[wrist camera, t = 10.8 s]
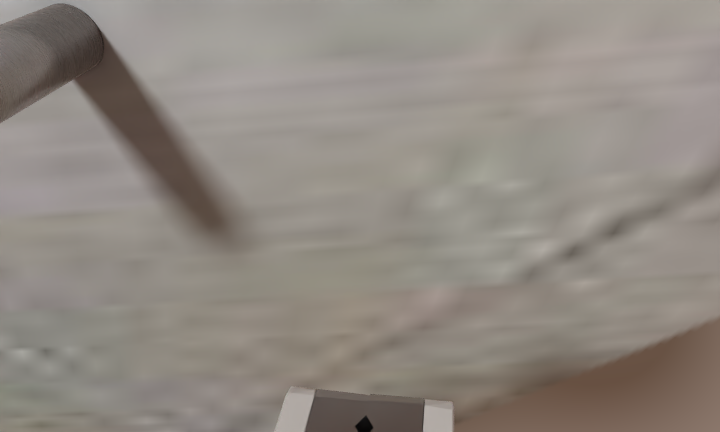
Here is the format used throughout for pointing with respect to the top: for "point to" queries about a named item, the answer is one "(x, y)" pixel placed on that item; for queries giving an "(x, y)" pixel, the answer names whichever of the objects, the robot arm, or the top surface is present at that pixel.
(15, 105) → the post
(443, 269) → the top surface
